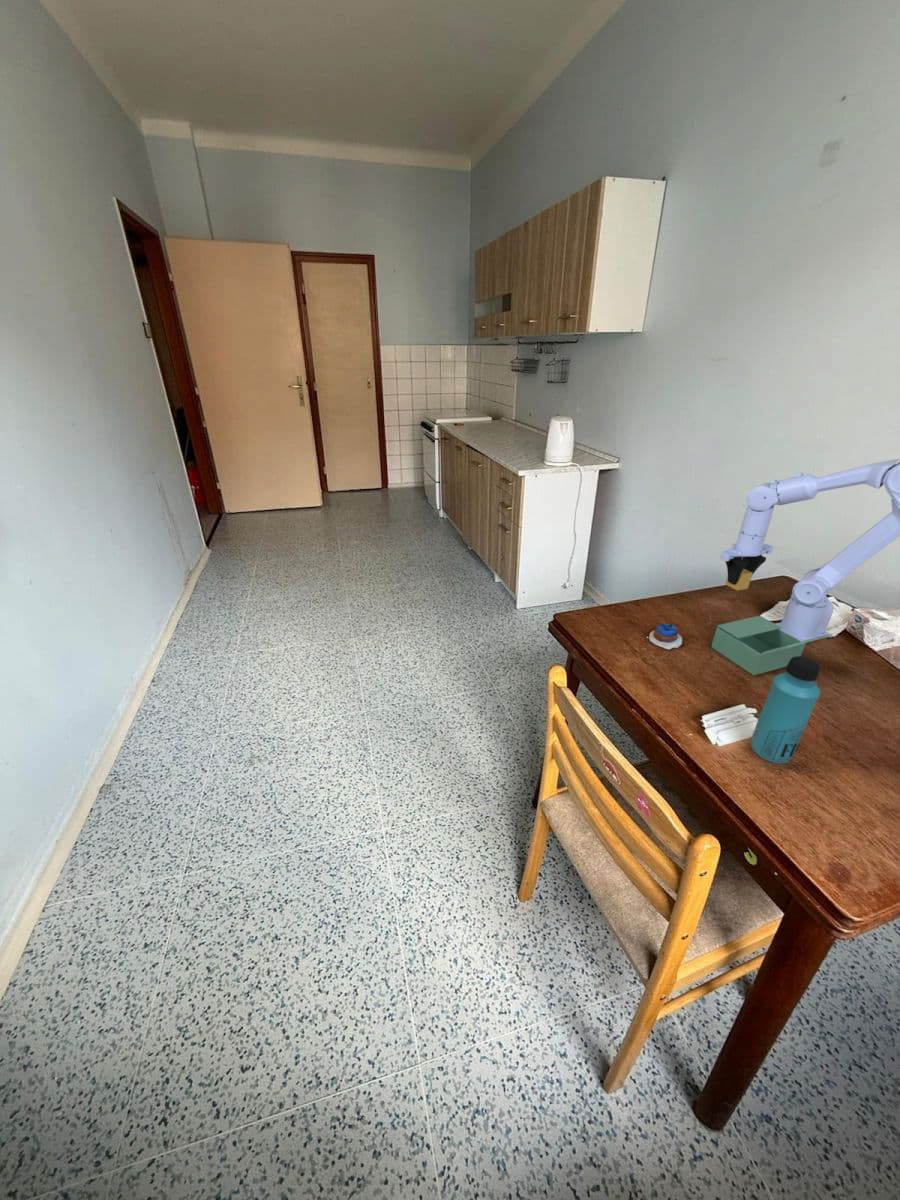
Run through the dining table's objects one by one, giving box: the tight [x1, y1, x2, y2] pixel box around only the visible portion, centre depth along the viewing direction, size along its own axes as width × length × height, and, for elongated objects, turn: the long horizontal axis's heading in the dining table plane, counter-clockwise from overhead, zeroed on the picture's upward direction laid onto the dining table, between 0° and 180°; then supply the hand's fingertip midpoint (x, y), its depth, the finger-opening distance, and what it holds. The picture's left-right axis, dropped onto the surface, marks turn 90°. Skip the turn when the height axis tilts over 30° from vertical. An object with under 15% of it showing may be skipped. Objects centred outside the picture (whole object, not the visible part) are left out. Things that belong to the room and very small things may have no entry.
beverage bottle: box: [749, 656, 821, 764], centre depth 77 cm, size 6×7×20 cm
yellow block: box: [724, 569, 754, 591], centre depth 123 cm, size 4×4×5 cm
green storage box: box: [711, 615, 807, 676], centre depth 107 cm, size 13×12×6 cm
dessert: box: [648, 623, 683, 650], centre depth 114 cm, size 8×7×6 cm
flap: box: [762, 634, 833, 653], centre depth 98 cm, size 13×6×1 cm
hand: (737, 581), depth 123 cm, fingers closed on yellow block, 3 cm apart
